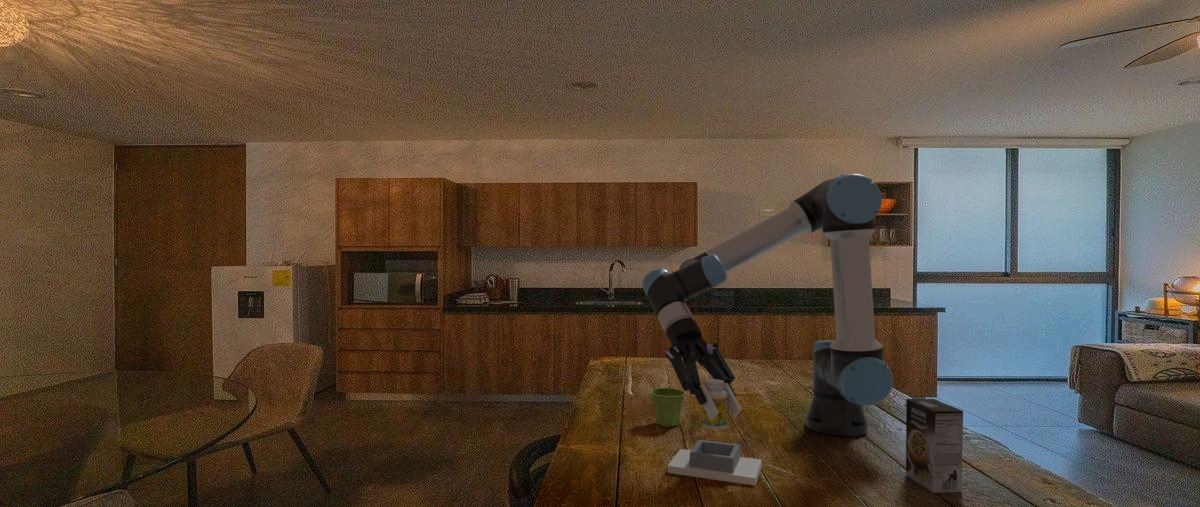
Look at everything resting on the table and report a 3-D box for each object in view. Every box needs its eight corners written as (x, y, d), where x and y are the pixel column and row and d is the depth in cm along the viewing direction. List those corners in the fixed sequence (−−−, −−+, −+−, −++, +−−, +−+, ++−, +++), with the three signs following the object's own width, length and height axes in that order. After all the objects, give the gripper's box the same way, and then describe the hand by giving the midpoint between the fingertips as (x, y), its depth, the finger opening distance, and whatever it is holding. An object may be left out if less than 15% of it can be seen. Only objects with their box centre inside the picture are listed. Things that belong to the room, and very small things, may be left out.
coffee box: (904, 475, 123) (904, 398, 123) (933, 474, 124) (933, 397, 124) (932, 493, 114) (932, 410, 114) (963, 492, 115) (964, 409, 115)
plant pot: (684, 419, 163) (684, 388, 163) (686, 429, 154) (686, 396, 154) (650, 418, 164) (650, 387, 164) (650, 428, 155) (650, 395, 155)
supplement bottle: (728, 423, 128) (728, 379, 128) (726, 430, 123) (726, 384, 123) (703, 421, 130) (703, 377, 129) (699, 428, 124) (700, 382, 124)
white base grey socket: (761, 466, 128) (761, 445, 128) (755, 485, 118) (755, 463, 118) (680, 455, 135) (680, 435, 135) (667, 472, 124) (667, 451, 124)
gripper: (704, 333, 144) (750, 418, 130) (639, 338, 135) (682, 430, 121) (718, 314, 139) (768, 399, 125) (652, 318, 130) (698, 410, 116)
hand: (725, 414), depth 123 cm, fingers closed on supplement bottle, 5 cm apart
